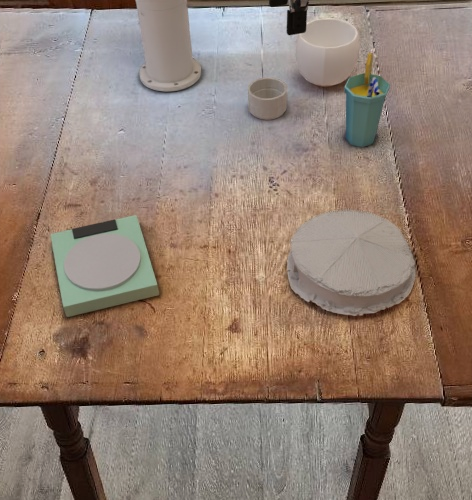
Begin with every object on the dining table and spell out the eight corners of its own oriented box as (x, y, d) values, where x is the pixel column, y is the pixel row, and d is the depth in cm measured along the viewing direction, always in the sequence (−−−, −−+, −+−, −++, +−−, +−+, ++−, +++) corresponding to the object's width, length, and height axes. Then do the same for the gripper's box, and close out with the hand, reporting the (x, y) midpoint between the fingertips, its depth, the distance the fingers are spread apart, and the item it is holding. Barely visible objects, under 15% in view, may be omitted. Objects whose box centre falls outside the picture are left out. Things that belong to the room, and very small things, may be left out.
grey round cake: (264, 245, 108) (263, 213, 102) (375, 211, 112) (380, 178, 106) (320, 337, 96) (323, 306, 91) (441, 294, 100) (451, 262, 95)
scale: (53, 244, 109) (49, 231, 107) (138, 225, 111) (136, 211, 109) (66, 317, 100) (61, 304, 98) (159, 295, 102) (156, 281, 100)
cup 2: (389, 164, 119) (402, 87, 107) (344, 166, 119) (353, 89, 107) (376, 117, 127) (387, 40, 115) (335, 119, 127) (342, 43, 115)
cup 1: (358, 64, 139) (363, 17, 131) (353, 98, 131) (359, 51, 124) (298, 60, 140) (299, 14, 133) (290, 94, 133) (291, 47, 125)
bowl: (243, 102, 132) (243, 81, 128) (279, 95, 133) (279, 74, 129) (255, 124, 127) (254, 102, 124) (291, 116, 128) (292, 95, 125)
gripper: (250, -113, 105) (251, -2, 119) (284, -67, 95) (281, 48, 108) (296, -119, 106) (292, -9, 120) (334, -75, 96) (325, 41, 109)
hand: (287, 18), depth 114 cm, fingers open, 9 cm apart
